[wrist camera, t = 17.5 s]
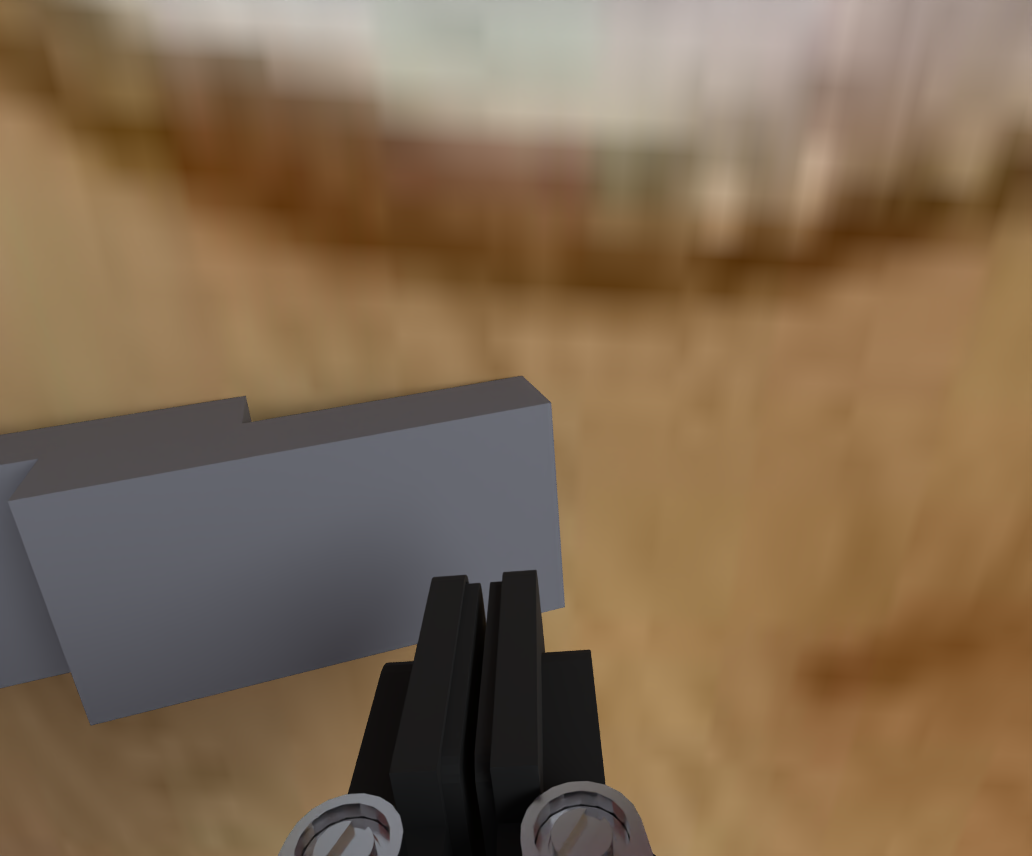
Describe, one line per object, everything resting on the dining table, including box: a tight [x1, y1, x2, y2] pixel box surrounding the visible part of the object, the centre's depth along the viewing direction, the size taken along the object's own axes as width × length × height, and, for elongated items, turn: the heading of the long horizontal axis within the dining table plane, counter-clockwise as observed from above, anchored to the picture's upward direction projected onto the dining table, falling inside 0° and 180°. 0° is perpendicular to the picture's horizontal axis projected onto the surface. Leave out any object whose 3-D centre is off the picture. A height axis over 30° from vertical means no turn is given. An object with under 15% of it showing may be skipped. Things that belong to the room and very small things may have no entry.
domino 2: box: [8, 376, 565, 725], centre depth 16 cm, size 2×5×10 cm
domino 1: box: [0, 396, 251, 688], centre depth 17 cm, size 2×5×10 cm
